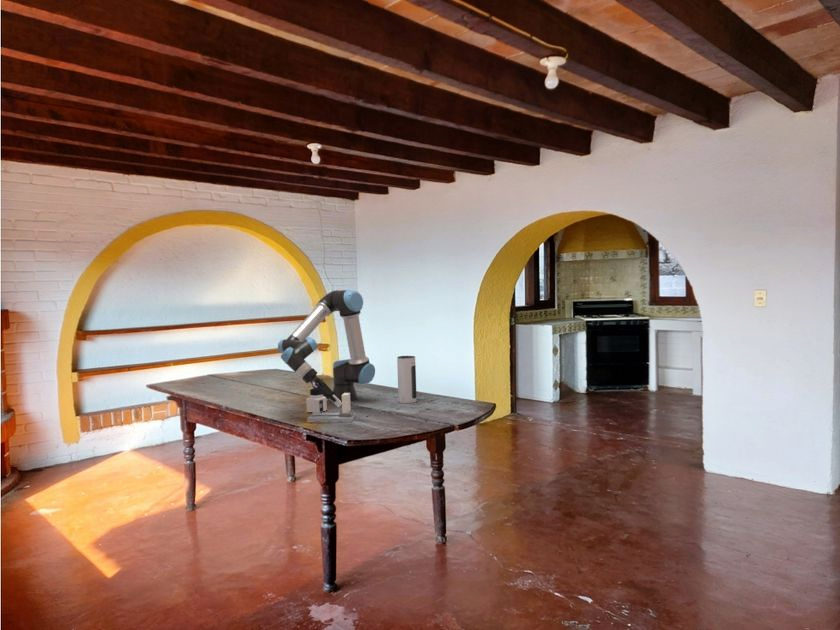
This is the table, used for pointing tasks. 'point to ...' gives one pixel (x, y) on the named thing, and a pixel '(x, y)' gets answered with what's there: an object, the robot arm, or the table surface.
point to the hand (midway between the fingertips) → (340, 405)
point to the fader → (346, 406)
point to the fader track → (329, 417)
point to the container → (316, 402)
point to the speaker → (406, 379)
